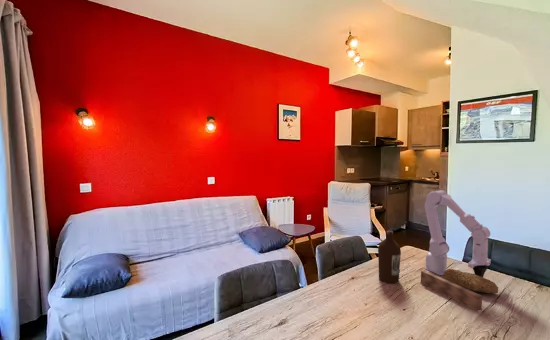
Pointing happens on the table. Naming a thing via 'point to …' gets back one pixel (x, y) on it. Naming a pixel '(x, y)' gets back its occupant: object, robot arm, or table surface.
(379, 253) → the olive oil
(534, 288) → the table surface
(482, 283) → the brown oblong lump
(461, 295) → the walnut board
